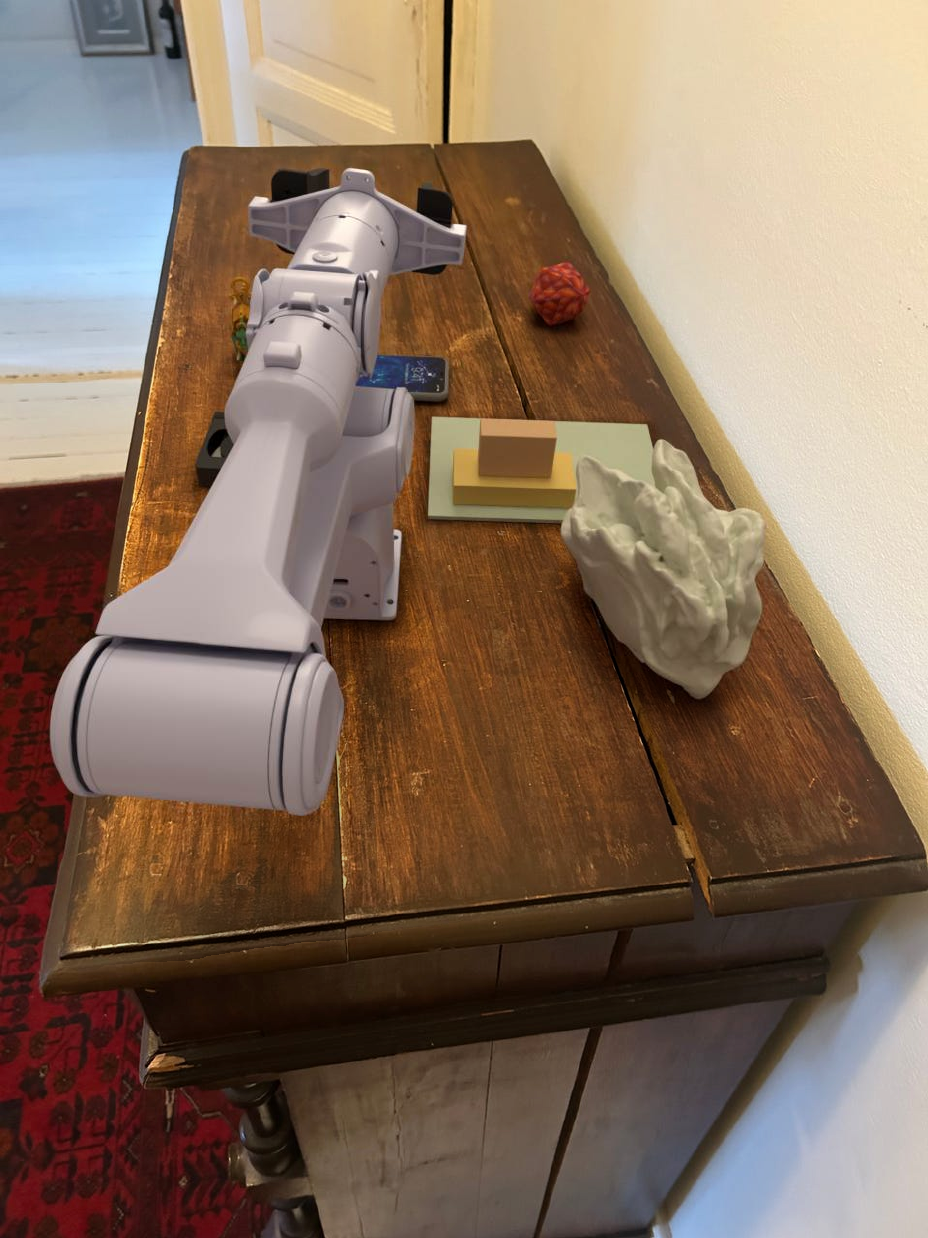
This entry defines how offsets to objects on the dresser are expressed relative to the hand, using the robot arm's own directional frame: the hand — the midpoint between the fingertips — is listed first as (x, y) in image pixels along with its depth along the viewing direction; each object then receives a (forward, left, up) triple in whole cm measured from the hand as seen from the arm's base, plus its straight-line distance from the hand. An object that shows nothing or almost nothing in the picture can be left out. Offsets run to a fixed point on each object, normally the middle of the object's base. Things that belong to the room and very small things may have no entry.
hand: (376, 189), depth 65 cm
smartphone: (+6, +2, -20) cm, 21 cm away
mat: (-7, -14, -20) cm, 26 cm away
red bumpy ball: (+20, -17, -21) cm, 34 cm away
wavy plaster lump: (-24, -21, -21) cm, 38 cm away
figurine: (+10, +14, -21) cm, 27 cm away
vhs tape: (-7, +8, -21) cm, 23 cm away
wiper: (-10, -11, -20) cm, 25 cm away
